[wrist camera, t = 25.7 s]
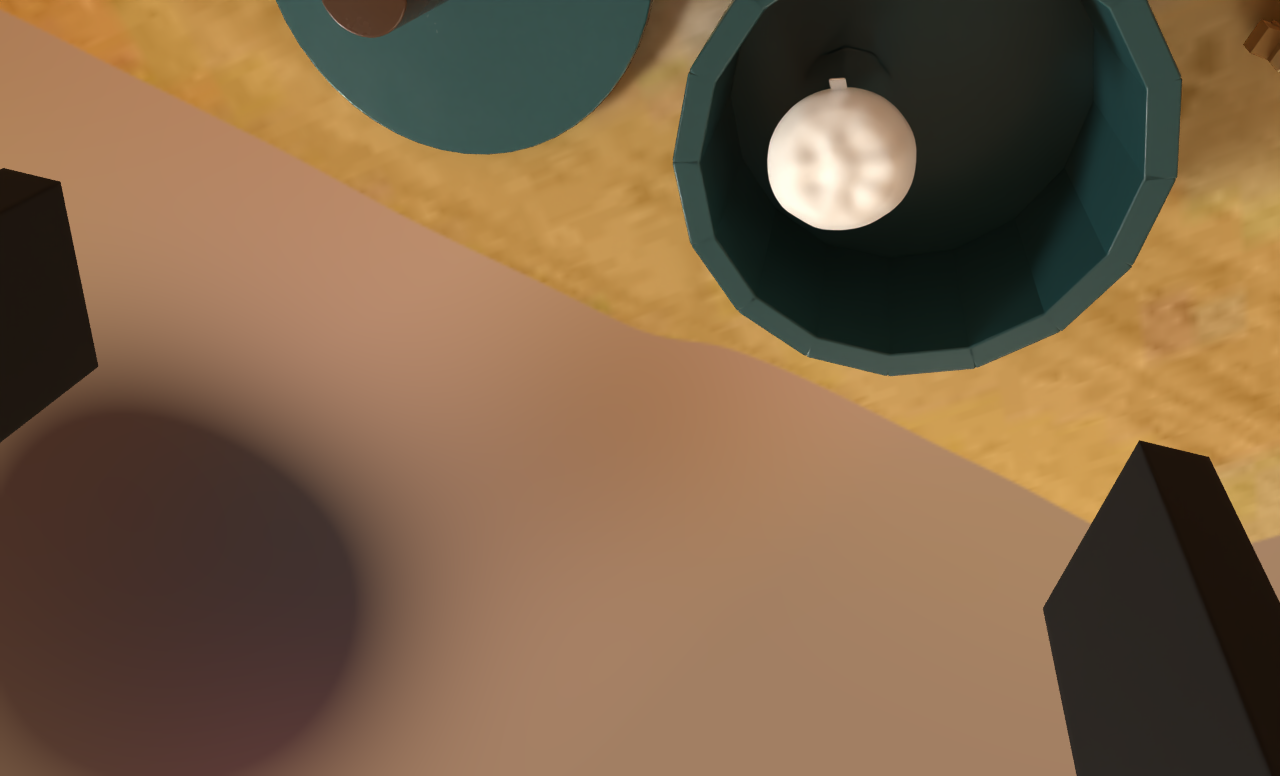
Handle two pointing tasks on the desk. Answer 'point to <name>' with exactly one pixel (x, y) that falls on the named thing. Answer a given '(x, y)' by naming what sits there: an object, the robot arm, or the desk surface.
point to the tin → (937, 173)
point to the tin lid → (471, 63)
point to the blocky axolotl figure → (1266, 42)
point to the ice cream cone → (842, 145)
